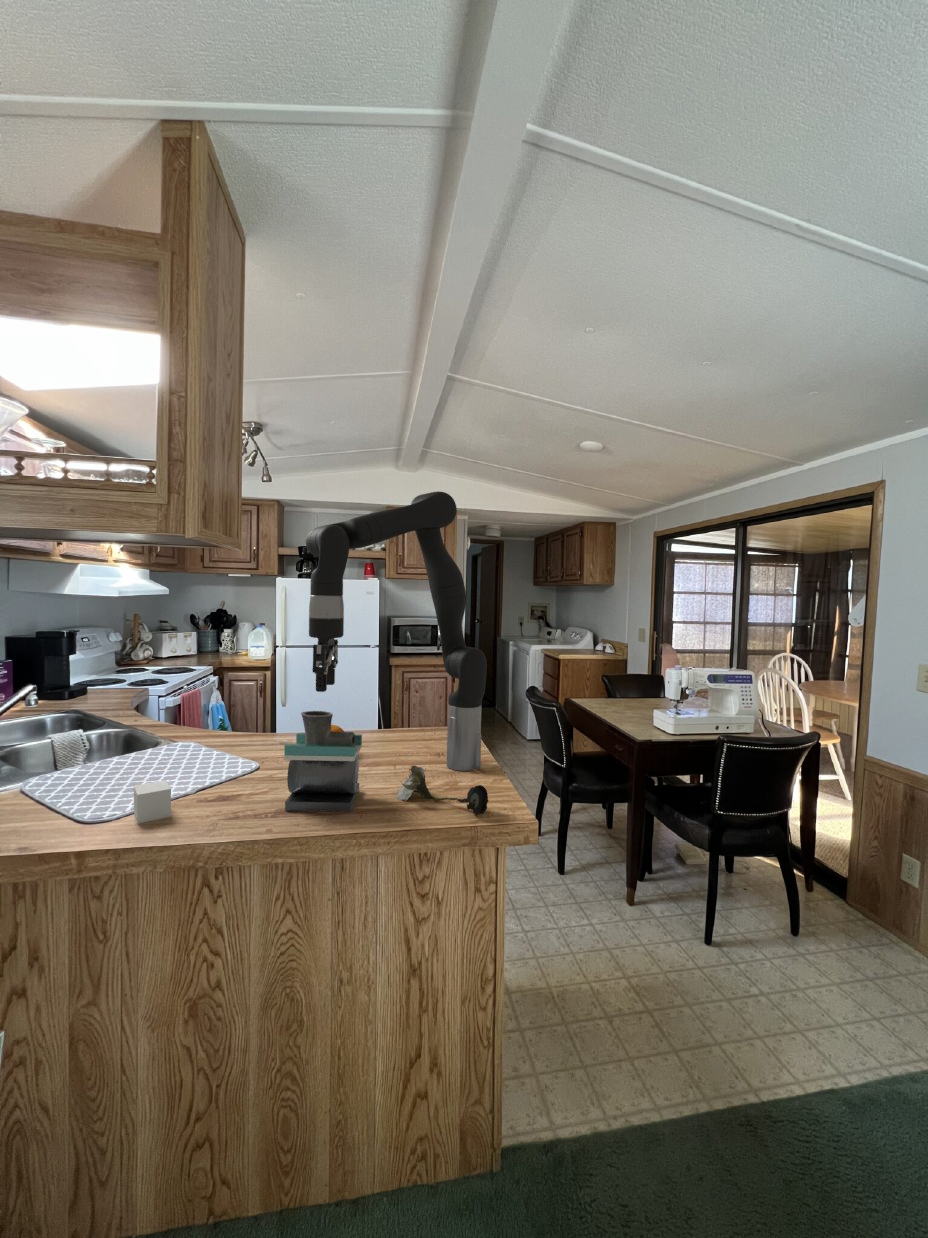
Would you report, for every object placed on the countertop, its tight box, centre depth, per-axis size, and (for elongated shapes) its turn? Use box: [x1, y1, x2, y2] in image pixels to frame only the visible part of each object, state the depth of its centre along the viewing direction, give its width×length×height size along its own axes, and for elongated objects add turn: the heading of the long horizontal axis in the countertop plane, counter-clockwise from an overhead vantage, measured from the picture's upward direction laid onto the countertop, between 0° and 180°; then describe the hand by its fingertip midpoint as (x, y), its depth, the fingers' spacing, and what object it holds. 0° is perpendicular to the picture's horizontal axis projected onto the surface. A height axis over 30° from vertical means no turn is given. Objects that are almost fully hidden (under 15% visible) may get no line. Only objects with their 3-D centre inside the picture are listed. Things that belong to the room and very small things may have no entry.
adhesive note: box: [133, 779, 172, 825], centre depth 111 cm, size 6×6×6 cm
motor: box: [283, 732, 363, 813], centre depth 121 cm, size 15×12×14 cm
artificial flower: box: [395, 765, 489, 818], centre depth 122 cm, size 9×22×10 cm, turn 55°
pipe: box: [300, 710, 356, 746], centre depth 121 cm, size 6×13×8 cm, turn 80°
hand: (325, 687), depth 120 cm, fingers open, 8 cm apart
